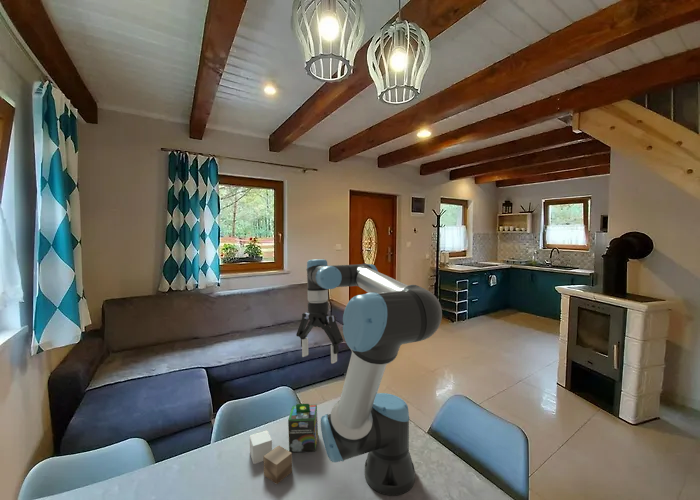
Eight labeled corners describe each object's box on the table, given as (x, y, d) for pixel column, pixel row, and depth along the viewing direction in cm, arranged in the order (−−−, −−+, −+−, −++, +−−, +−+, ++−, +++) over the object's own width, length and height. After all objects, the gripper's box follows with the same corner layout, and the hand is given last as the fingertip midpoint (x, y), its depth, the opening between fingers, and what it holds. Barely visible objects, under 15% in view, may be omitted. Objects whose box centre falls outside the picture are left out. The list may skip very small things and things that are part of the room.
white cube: (272, 457, 98) (271, 440, 98) (253, 464, 95) (253, 446, 95) (267, 446, 104) (267, 429, 103) (249, 452, 101) (249, 435, 101)
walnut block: (292, 472, 92) (291, 453, 92) (276, 484, 87) (276, 464, 87) (279, 463, 96) (278, 445, 96) (263, 475, 91) (263, 456, 91)
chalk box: (318, 434, 110) (317, 395, 109) (315, 452, 101) (315, 409, 100) (292, 435, 110) (292, 395, 109) (288, 453, 100) (287, 409, 100)
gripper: (351, 302, 106) (353, 361, 106) (299, 297, 120) (301, 350, 120) (339, 305, 100) (341, 369, 100) (286, 300, 114) (287, 356, 114)
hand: (319, 359), depth 110 cm, fingers open, 13 cm apart
